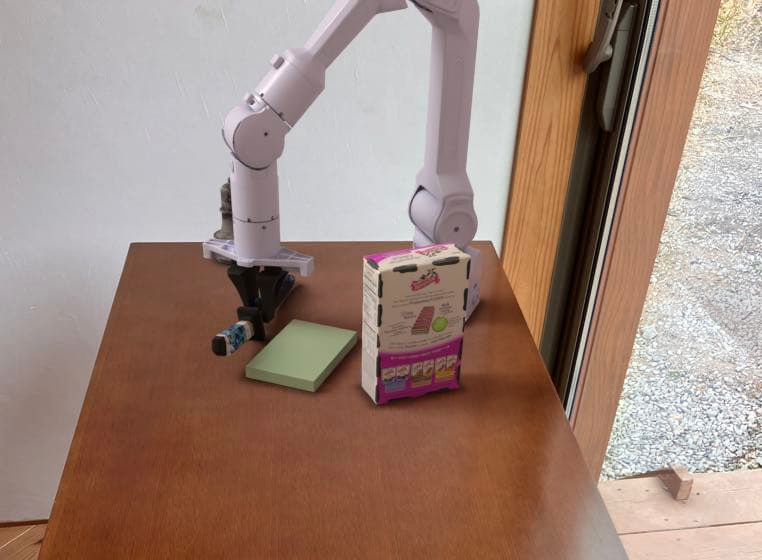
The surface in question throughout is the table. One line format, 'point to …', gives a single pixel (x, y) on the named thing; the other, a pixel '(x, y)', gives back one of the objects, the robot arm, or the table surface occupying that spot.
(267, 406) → the table surface
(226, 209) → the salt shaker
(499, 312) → the table surface
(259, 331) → the knife
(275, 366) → the cutting board
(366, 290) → the candy bar box
